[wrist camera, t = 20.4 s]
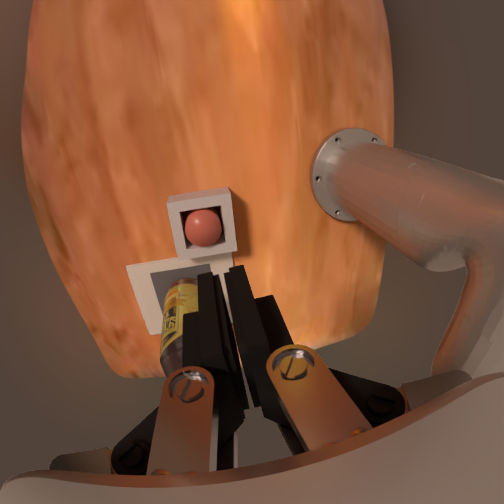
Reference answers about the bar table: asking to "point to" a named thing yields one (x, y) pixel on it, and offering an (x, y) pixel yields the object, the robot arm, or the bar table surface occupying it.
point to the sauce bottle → (176, 322)
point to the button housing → (196, 202)
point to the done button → (203, 226)
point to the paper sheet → (171, 282)
